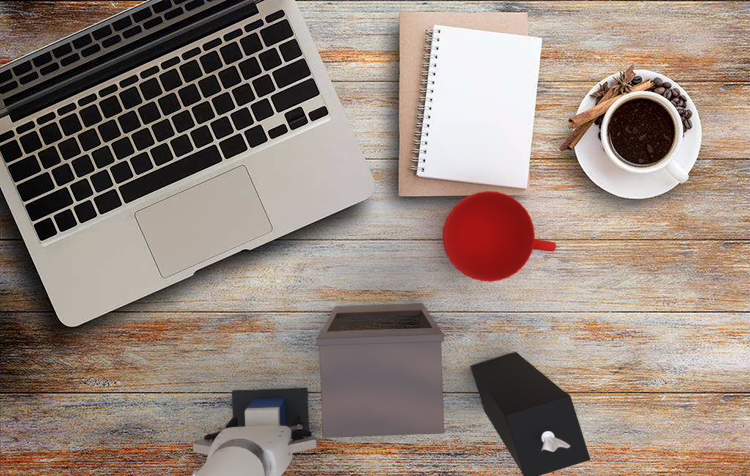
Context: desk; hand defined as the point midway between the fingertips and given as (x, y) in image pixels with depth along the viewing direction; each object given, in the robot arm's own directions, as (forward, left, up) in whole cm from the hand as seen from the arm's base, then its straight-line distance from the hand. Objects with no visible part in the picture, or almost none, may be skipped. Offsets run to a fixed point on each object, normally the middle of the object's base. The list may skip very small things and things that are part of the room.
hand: (267, 426), depth 84 cm
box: (+1, 0, -3) cm, 4 cm away
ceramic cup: (+28, -36, -4) cm, 45 cm away
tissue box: (+5, -37, -4) cm, 37 cm away
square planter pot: (+12, -18, -4) cm, 22 cm away
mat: (+1, 0, -4) cm, 4 cm away
